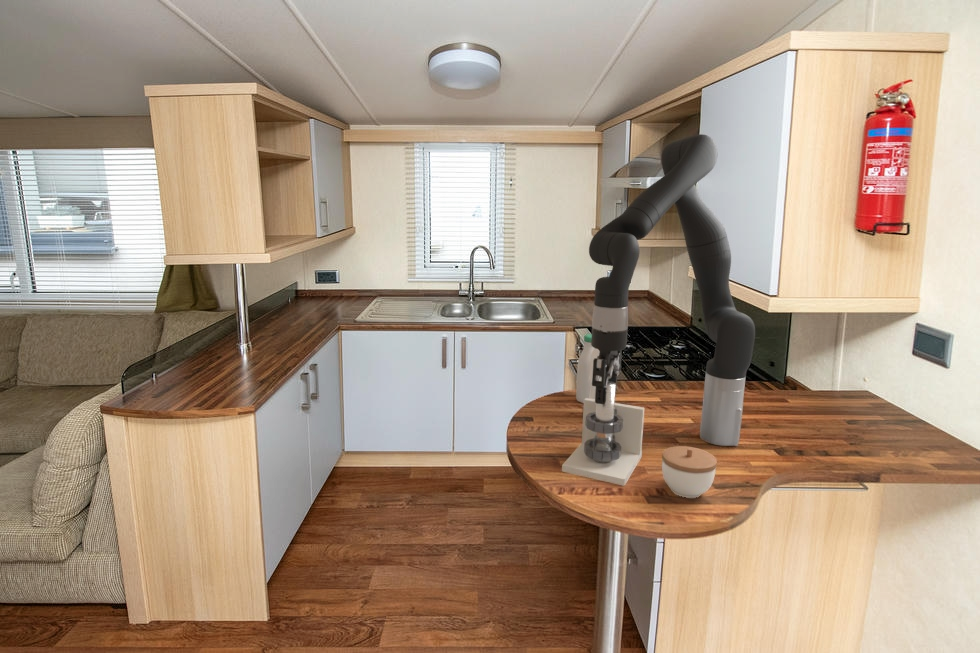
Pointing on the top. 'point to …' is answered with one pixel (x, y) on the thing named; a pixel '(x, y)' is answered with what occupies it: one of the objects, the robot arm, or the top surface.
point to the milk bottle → (584, 370)
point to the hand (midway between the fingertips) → (605, 397)
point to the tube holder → (626, 438)
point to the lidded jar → (688, 470)
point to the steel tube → (605, 420)
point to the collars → (606, 429)
